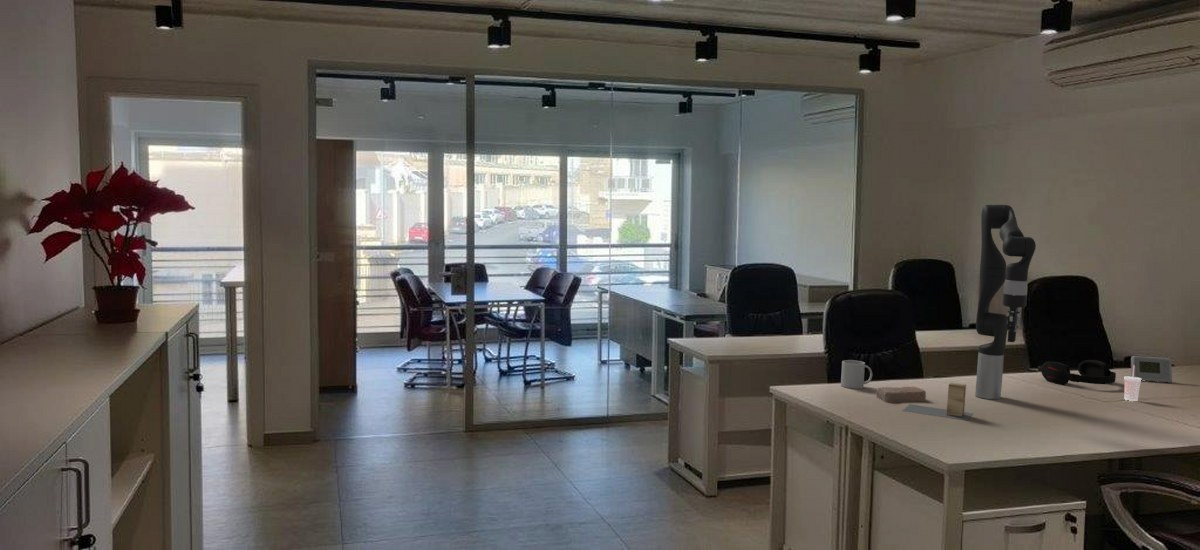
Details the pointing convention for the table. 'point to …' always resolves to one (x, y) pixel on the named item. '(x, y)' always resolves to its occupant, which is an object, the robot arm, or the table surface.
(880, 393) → the brick
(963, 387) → the oak block
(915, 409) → the mat
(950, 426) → the table surface
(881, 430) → the table surface
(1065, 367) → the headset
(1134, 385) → the beverage cup
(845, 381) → the mug
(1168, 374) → the digital clock
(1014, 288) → the robot arm
